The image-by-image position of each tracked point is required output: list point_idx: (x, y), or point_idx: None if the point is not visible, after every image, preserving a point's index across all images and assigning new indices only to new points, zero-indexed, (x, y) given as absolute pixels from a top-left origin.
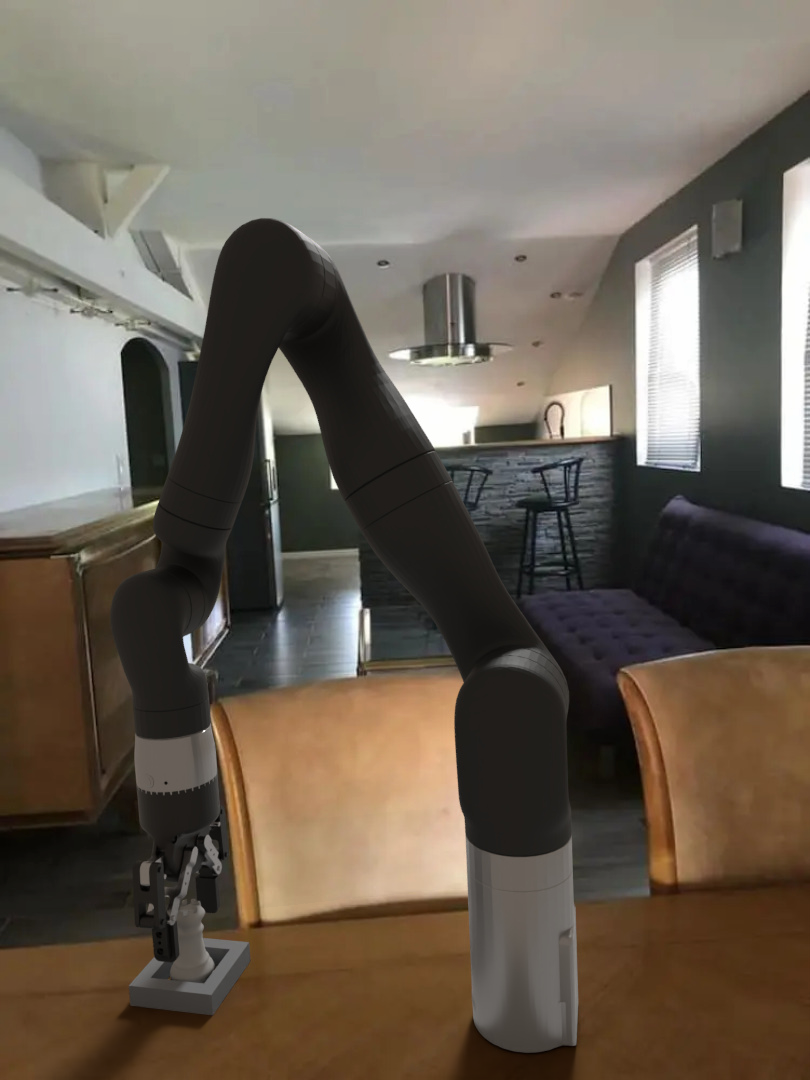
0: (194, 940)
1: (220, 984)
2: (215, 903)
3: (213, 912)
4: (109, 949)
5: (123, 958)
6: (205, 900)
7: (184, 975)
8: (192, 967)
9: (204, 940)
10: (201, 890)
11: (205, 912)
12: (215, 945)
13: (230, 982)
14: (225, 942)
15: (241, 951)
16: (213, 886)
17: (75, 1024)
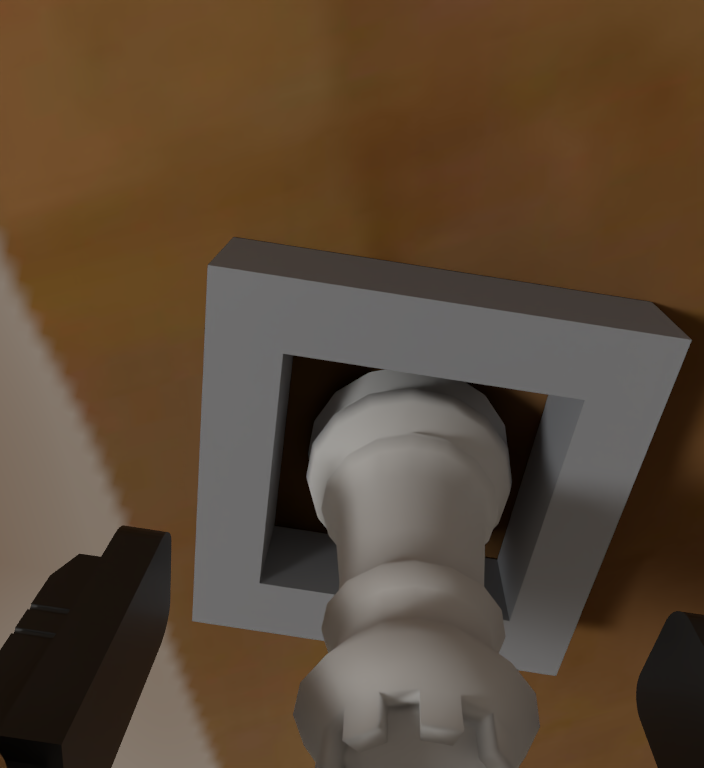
0: (468, 568)
1: (586, 319)
2: (147, 576)
3: (167, 545)
4: (215, 747)
5: (261, 700)
6: (143, 645)
7: (499, 502)
8: (490, 489)
9: (216, 492)
10: (115, 728)
11: (168, 585)
12: (254, 433)
13: (464, 282)
14: (224, 392)
15: (300, 285)
16: (97, 693)
17: (616, 720)
